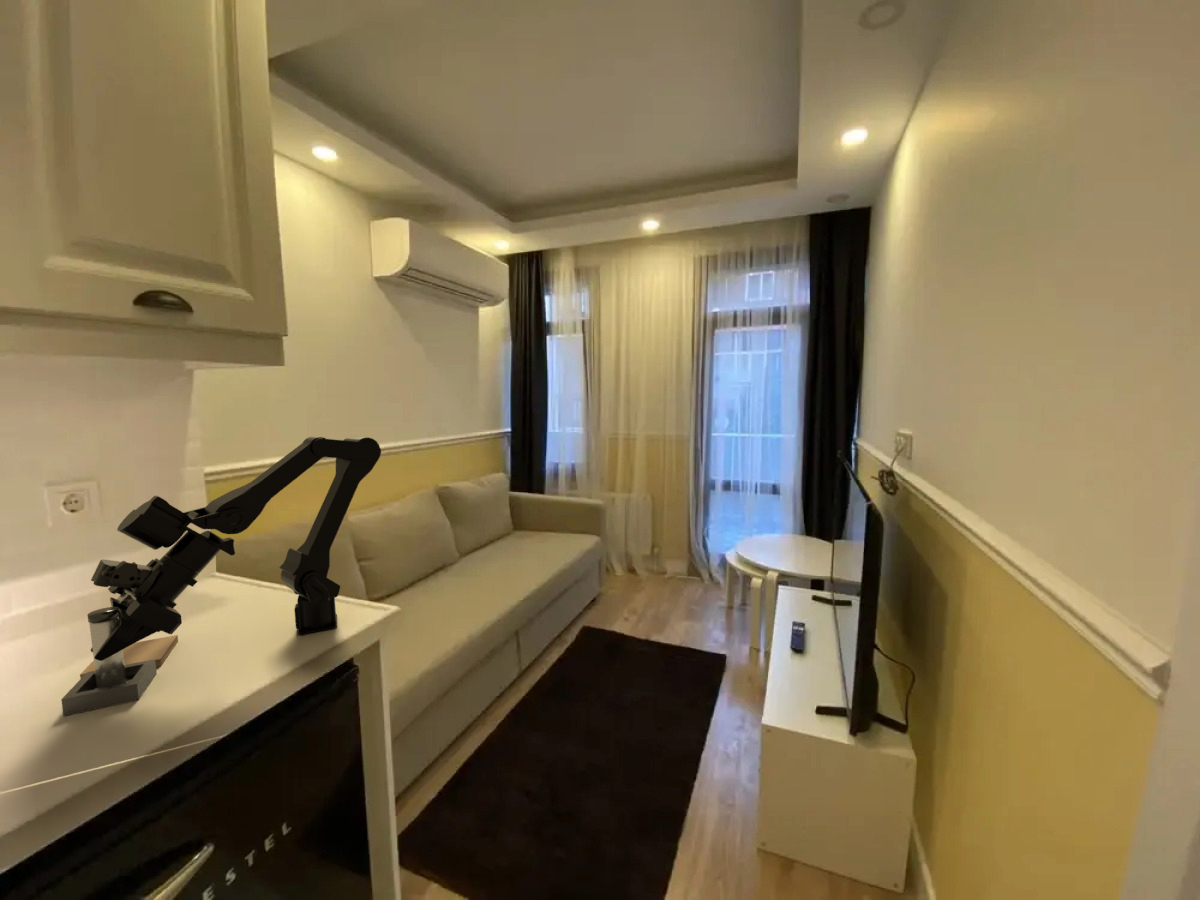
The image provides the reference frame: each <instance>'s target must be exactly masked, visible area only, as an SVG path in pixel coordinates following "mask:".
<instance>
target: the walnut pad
mask: <svg viewBox="0 0 1200 900" xmlns="http://www.w3.org/2000/svg"><path fill="white" fill-rule="evenodd" d="M178 642H179V636H178V634H175V635H171V636H170V635H169V636H165V637H159V638H153V639H148V640H143V641H142V640H140V641H138V642H136V643H134V644H132V645H130V646H128V647H126V648H125V649H123V654H124V663H125V665H127V664H132V663H138V662H143V661H148V660H153V659H155V664H156V668H158V667H162V666H163V664H164V663H165V661H167V658H168V657H169V655H170V653H171V652H172V651H173V649H175V647H176V645H177V644H178ZM91 671H95V665H94V660H92V661H91V662H90V664H89V665H87V666H86V668H84V670H83V671H82V672H81V673H80V674H79V677H80V679H81V678H82V677H83V676H84V675H85V674H86V673H87V672H91Z"/></svg>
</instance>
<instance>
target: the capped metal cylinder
mask: <svg viewBox="0 0 1200 900" xmlns="http://www.w3.org/2000/svg"><path fill="white" fill-rule="evenodd" d="M118 609H119V607H111V606H108V607H104V608H103V607H102V608H100V609H96V610H93V611H90V612H89V613H88V614H87V622H88V623H89V630H90V639H91V648H93V652H92V655H93V661H94V665H95V673H96V681H97V688H95V689H99V688H104V687H109V686H114V685H119V684H124V683H129V682H131V680H132V679H126V671H125V663H124V654H123V650H121V651H119V652H117V653H116V654H114V655H112V656H110V657H108V658H106V659H105V660H103V661H99V660H96V659H95V658H94V657H95V655H96V654H97V652H98V651H99V649H100V648H101V646H102V645H103V644H104V642H105V641H106V640H107V638H108V637H109V636H110V634H111V633H112V631H113V630H114V629H115V627H116V626H117V625H118V623H119V615H118Z"/></svg>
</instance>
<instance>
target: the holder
mask: <svg viewBox="0 0 1200 900" xmlns="http://www.w3.org/2000/svg"><path fill="white" fill-rule="evenodd" d="M125 671H126V679H132V680H131V682H129V683H124V684H119V685H114V686H109V687H104V688H99V689H95V688H97V681H96V673H95V671H91V672H87V673H86V674H85V675H84V676H83V677H82V678H80V679H79V680H78V681H77V682H76V683H75V684H74V685H73V687H71V688H70V689H69V690H68V692H67V693H65V695H64V696H63V697H62V698H61V700H60V701H61V708H62V714H63V717H66V716H69V715H74V714H79V713H84V712H89V711H94V710H98V709H102V708H107V707H111V706H116V705H122V704H126V703H130V702H135V701H140V699H141V697H142V696H143V694H144V693H145V691H146V690H147V688H148V687H149V685H150V684H151V683H152V681H153V679H154V678H155V677H156V675H157V667H156V664H155V659H153V660H148V661H143V662H138V663H132V664H127V665H125Z"/></svg>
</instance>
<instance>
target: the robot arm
mask: <svg viewBox="0 0 1200 900" xmlns="http://www.w3.org/2000/svg"><path fill="white" fill-rule="evenodd" d="M381 455H382V449H381V446H380V444H379V442H378V441H377V440H375V439H374V438H372V437H367V436H366V437H365V436H349V437H346V438H344V439H331V438H326V437H324V436H309V437H307V438H305V439H304V440H303V441H302V442H301V443H300V444H299V445H298V446H297V447H295V448H294V449H292V450H291V451H290V452H288V454H285V456H284V457H282V458H281V459H279V460H278V461H277V462H275V463H274V464H273V465H271V466H270V467H268V469H266V470H265V471H263V472H262V473H260V475H258V476H256V478H254V479H253V480H252V481H250V482H248V483H246V484H244V485H242V486H239V487H237V488H235V489H233V490H229V491H228V492H226V493H224V494H223V495H220V496H219V497H217V498H214V499H213V500H210V502H208V504H207V505H206V506H204V507H200V508H196V509H192V510H188V511H185V512H184V511H182V510H180V509H179V508H176V507H175V506H173V505H171V504H170V503H169V502H168V501H167V500H165V498H162V497H161V496H159V495H153V496H152V498H150V499H149V500H148V501H145V502H144V503H142V504H141V505H140V506H138V507H137V508H136V509H132V510H131V512H129V513H128V514H127V515H126V516H125V517H124V518H123V519H122V521H121V522H120V523H119V525H118V527H117V528H116V530H117V532H119V533H121V534H123V535H125V536H127V537H129V538H131V539H133V540H135V541H137V542H139V543H141V544H143V545H144V546H146V547H148V548H150V549H152V550H153V551H154V550H155V551H156V550H159V549H161V548H165V549H167V548H170V549H169V550H168V551H166V553H165V554H164V555H163V556H162V557H160V559H159V558H155V559H151V560H149V562H148V563H147V564H146V565H144V564H137V563H136V562H135V561H134V562H127V561H126V560H122V561H119V560H111V559H100V560H99V562H98V564H97V566H96V569H95V571H94V573H93V575H92V577H91V578H90V581H91V582H93V585H94V586H96V587H102V588H107V590H108V591H109V592H110V593H111V594H113V595H116V594H118V595H119V596H118V597H117V598H114V597H112V596H111V597H110V598H109V601H110V602H109V603H110V607H119V609H118V615H119V623H118V625H117V626H116V627H115V629H114V630H113V631H112V633H111V634H110V636H109V637H108V638H107V640H106V641H105V642H104V644H103V645H102V646H101V648H100V649H99V651H98V652H97V654H96V655H95V657H93V659H94V658H95V659H96V660H99V661H103V660H105V659H106V658H108V657H110V656H112V655H114V654H116V653H117V652H119V651H121V650H123V649H125V648H126V647H128V646H130V645H132V644H134V643H136V642H141V641H142V640H143V639H146V638H147V637H149V636H152V635H153V634H156V633H160V632H164V633H166V634H168V635H173V633H175V631H176V630H177V629H178V628H179V627H180V626H181V624H182V623H183V622H182V614H181V613H180V612H179V611H177V609H175V607H176V606H177V603H176V602H175V601H176V599H178V597H180V595H182V593H183V592H184V591H185V590H186V589H187V588H188V587H189V586H190V587H195V585H196V584H197V583H198V580H197V579H196V578H197V577H198V576H199V574H200V573H202V571H203V570H204V569H205V568H206V567H207V566H208V565H209V563H211V562H212V560H213V559H215V557H216V556H217V555H218V554H219V552H220V551H222V552H224V553H225V554H227V555H228V556H234V555H235V554H236V550H235V546H234V543H235V539H233V538H231V537H226V538H222V537H221V536H219V535H218V534H215V533H214V532H212V531H210V530H215V531H217V532H219V533H221V534H225V535H238V534H240V533H242V532H244V531H246V530H247V529H248V528H249V527H250V526H251V525H252V524H253V523H254V522H255V520H256V519H257V518H258V517H259V516H260V515H261V514H262V512H263V511H264V510H265V509H264V508H266V506H267V504H268V503H269V502H270V500H272V498H274V497H275V496H277V494H279V493H280V492H281V491H283V490H284V489H285V488H286V487H288V486H289V485H290V484H291V483H293V482H294V481H295V480H296V479H298V478H299V477H300V476H301V475H303V474H304V473H305V472H306V471H307V470H308V469H310V468H312V467H313V466H314V465H316V463H318V462H320V460H321V459H323V458H333V459H334V458H335V474H334V477H333V480H332V482H331V484H330V486H329V488H328V491H327V493H326V495H325V497H324V500H323V501H322V504H321V506H320V508H319V511H318V512H317V515H316V517H315V519H314V521H313V524H312V526H311V528H310V530H309V533H308V534H307V537H306V539H305V541H304V543H302V545H300V546H299V547H298V548H297V549H294V548H292V547H290V548H288V550H287V553H286V556H285V560H284V561H283V563H282V564H281V565H280V566H279V567H278V568H279V569H280V570H281V573H280V579H281V582H282V584H283V585H284V586H285V587H287V588H289V589H290V590H292V591H293V592H294V594H295V595H298V596H297V600H296V602H297V603H296V604H295V605H294V623H295V629H296V630H298V632H297V634H298V635H306V634H311V633H312V634H313V633H316V632H317V633H318V632H322V631H327V630H331V629H332V630H333V629H336V628H338V615H337V611H336V610H337V608H336V598H337V597H339V595H340V590H341V585H340V584H338V583H336V582H335V581H333V580H331V579H330V578H328V574H329V571H330V567H331V560H330V559H331V549H332V546H333V544H334V541H335V539H336V538H337V537H336V536H337V535H338V532H339V530H340V527H341V526H342V523H343V521H344V518H345V517H346V514H347V511H348V509H349V507H350V505H351V503H352V500H353V498H354V496H355V493H356V492H357V488H358V486H359V485H360V483H361V481H362V480H364V478H366V477H367V475H369V474H370V473H371V472H372V471H373V469H374V467H375V466H376V464H377V463H378V461H379V460H380V458H381ZM190 524H192V525H194V526H195V527H197V528H200V529H202V530H205V531H203V532H201V533H199V532H197V531H195V530H194V529H192V528H190V527H189V525H190ZM90 651H91V653H93V648H92V647H91V648H90Z"/></svg>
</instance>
